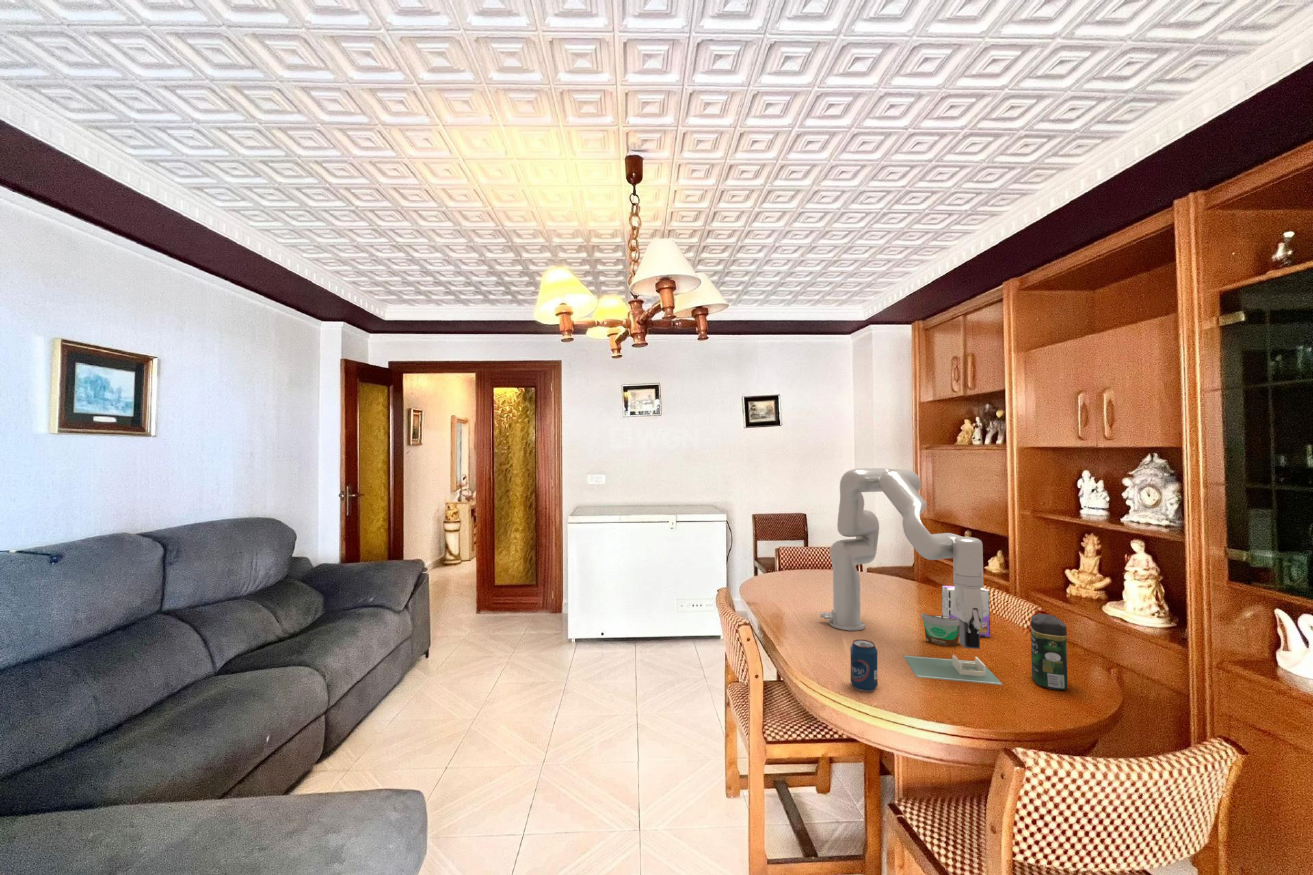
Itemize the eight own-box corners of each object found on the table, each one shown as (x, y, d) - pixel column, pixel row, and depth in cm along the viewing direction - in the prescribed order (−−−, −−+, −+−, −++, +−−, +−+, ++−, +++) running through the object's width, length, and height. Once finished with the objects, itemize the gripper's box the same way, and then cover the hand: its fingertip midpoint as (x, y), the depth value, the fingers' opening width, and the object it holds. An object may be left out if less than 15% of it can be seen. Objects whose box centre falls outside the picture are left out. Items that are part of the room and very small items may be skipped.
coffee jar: (1028, 673, 154) (1028, 610, 154) (1062, 679, 150) (1061, 613, 151) (1034, 687, 145) (1034, 619, 146) (1070, 693, 142) (1069, 624, 142)
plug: (964, 647, 152) (963, 621, 152) (959, 642, 155) (959, 617, 156) (980, 648, 151) (979, 622, 151) (974, 644, 155) (974, 618, 155)
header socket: (960, 674, 151) (960, 663, 151) (952, 665, 157) (952, 654, 157) (985, 676, 149) (985, 665, 149) (977, 667, 156) (977, 656, 156)
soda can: (846, 686, 145) (845, 642, 146) (857, 678, 150) (857, 636, 151) (871, 695, 141) (870, 649, 141) (881, 686, 145) (881, 643, 146)
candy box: (982, 631, 189) (981, 585, 189) (990, 637, 183) (990, 590, 184) (941, 630, 190) (941, 584, 191) (949, 636, 185) (948, 589, 185)
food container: (920, 646, 175) (920, 616, 175) (921, 640, 180) (921, 611, 181) (963, 653, 169) (963, 622, 169) (962, 647, 175) (962, 616, 175)
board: (916, 681, 149) (916, 676, 149) (902, 659, 165) (902, 654, 165) (1003, 689, 144) (1003, 684, 144) (981, 665, 160) (981, 661, 160)
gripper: (945, 573, 163) (946, 633, 162) (964, 586, 146) (965, 653, 146) (972, 574, 161) (973, 635, 160) (994, 588, 145) (995, 655, 144)
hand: (969, 643), depth 153 cm, fingers closed on plug, 4 cm apart
